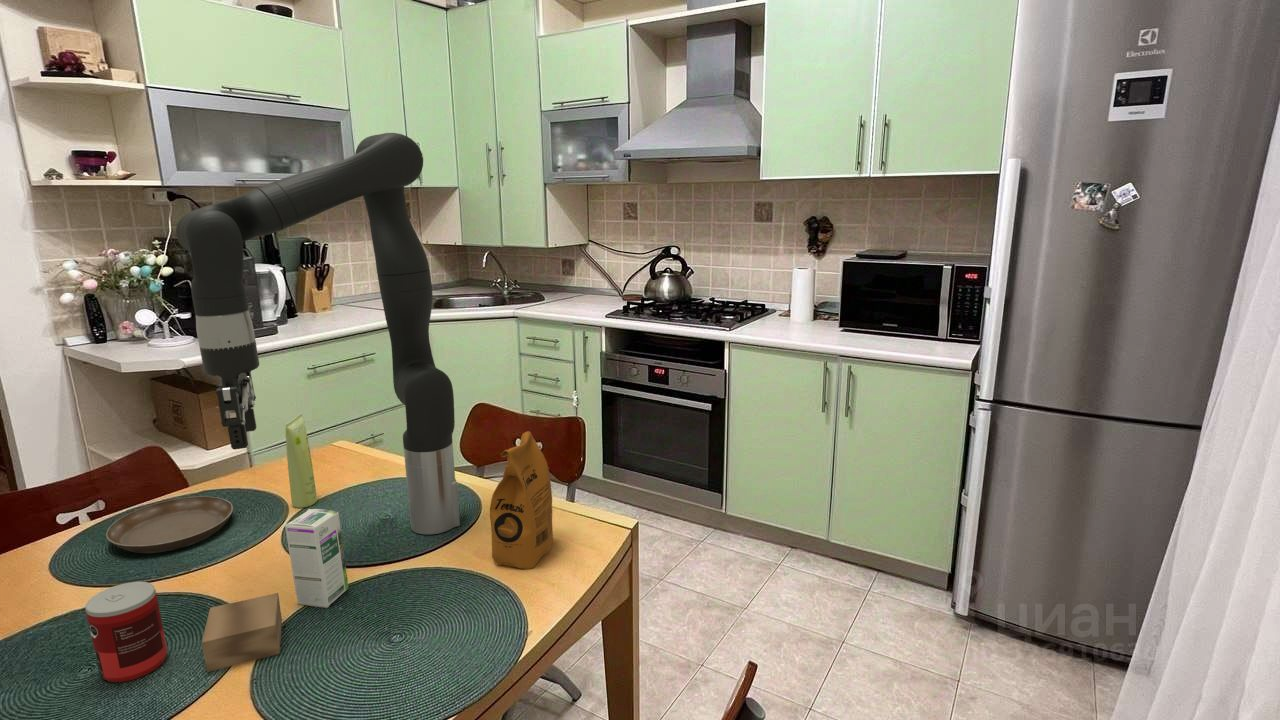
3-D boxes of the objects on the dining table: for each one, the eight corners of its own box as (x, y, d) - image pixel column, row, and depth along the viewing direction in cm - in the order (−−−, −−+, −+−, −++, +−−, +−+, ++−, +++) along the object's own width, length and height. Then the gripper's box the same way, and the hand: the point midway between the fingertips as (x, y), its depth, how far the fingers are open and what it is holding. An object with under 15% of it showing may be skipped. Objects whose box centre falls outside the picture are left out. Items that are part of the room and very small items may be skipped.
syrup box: (327, 608, 108) (317, 526, 105) (295, 604, 109) (284, 523, 106) (349, 589, 113) (340, 510, 110) (318, 585, 115) (308, 507, 111)
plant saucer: (257, 522, 137) (254, 507, 137) (146, 571, 120) (143, 554, 119) (197, 502, 147) (195, 488, 146) (87, 544, 129) (83, 529, 128)
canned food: (123, 649, 98) (108, 582, 96) (180, 646, 99) (167, 579, 97) (85, 685, 91) (69, 614, 88) (147, 682, 92) (133, 611, 89)
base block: (282, 621, 105) (278, 592, 104) (279, 655, 97) (275, 625, 96) (215, 636, 102) (210, 607, 100) (207, 673, 94) (201, 642, 93)
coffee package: (483, 565, 120) (475, 451, 115) (514, 533, 132) (508, 427, 127) (534, 574, 118) (528, 456, 113) (561, 540, 129) (557, 432, 124)
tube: (322, 504, 145) (311, 418, 140) (297, 511, 142) (285, 424, 137) (312, 496, 149) (302, 412, 144) (288, 503, 146) (276, 417, 141)
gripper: (247, 348, 99) (264, 450, 103) (261, 330, 112) (276, 422, 116) (188, 353, 96) (208, 458, 100) (209, 334, 109) (226, 428, 113)
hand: (244, 439), depth 108 cm, fingers open, 8 cm apart
